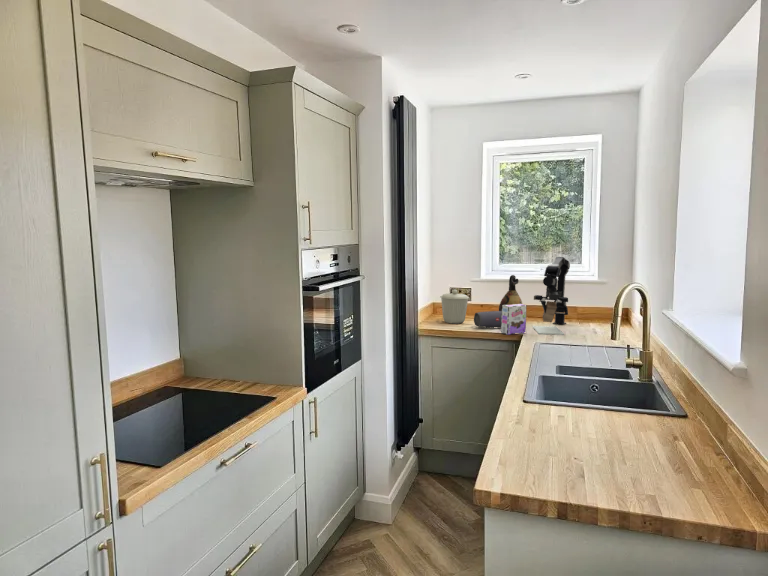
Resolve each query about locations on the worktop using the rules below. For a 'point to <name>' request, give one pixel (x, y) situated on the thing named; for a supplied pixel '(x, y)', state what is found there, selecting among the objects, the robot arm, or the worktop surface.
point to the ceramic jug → (511, 294)
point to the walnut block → (549, 311)
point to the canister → (454, 307)
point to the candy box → (513, 319)
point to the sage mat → (548, 330)
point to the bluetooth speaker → (488, 319)
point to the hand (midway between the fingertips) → (549, 313)
